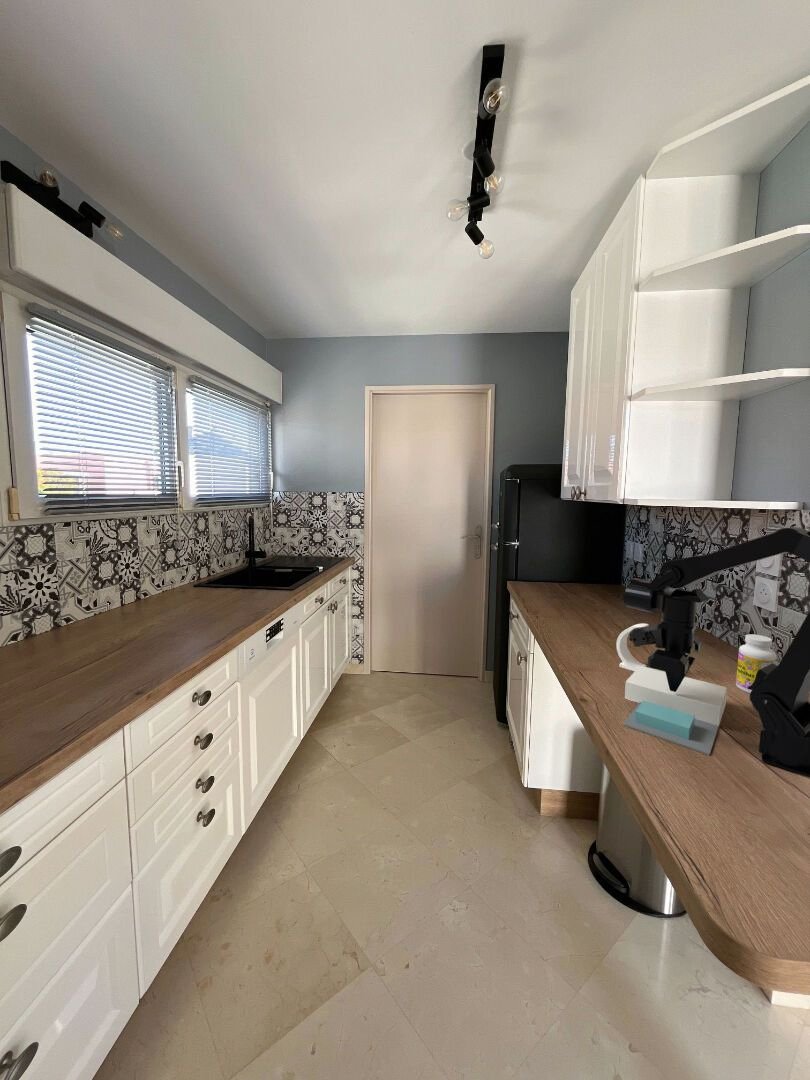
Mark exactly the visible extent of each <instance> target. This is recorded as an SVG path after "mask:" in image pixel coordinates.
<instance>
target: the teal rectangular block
mask: <svg viewBox="0 0 810 1080" xmlns="http://www.w3.org/2000/svg"><path fill="white" fill-rule="evenodd" d="M694 720H695V716H693V715H690V714H687V713H683V712H680V711H677V710H673V709H670V708H667V707H663V706H660V705H657V704H653V703H650V702H647V701H643V702H642V703H641V705H640V706H639V707H638V709H637V710H636V714H635V722H637V723H640V724H643V725H646V726H649V727H652V728H655V729H658V730H661V731H664V732H667V733H670V734H673V735H676V736H679V737H682V738H685V739H688V740H689V737H690V735H691V732H692V730H693V728H694Z"/></svg>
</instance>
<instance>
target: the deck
mask: <svg viewBox="0 0 810 1080" xmlns="http://www.w3.org/2000/svg"><path fill="white" fill-rule="evenodd" d="M727 693H728V687H726V686H723V685H719V684H715V683H712V682H706V681H703V680H699V679H695V678H690V677H688V676H685V677H684V679H683V681H682V682H681V684H680V686H679V687H678V689H677V691H676V692H673V691H670V689H669V685H668V681H667V676H666V672H665V671H662V670H658V669H654V668H650V667H649V666H646V667H644V666H639V667H638V668H637V670H636V671H633V673H631V675H630V676H629V677H628V678H627V679H626V681H625V687H624V699H626V700H628V701H631V702H635V703H637V704H638V703H639V702H643V701H647V702H650V703H653V704H657V705H660V706H663V707H667V708H670V709H673V710H677V711H680V712H683V713H687V714H690V715H693V716H695V719H697V720H701V721H704V722H707V723H710V724H714V725H717V726H719V727H720V725H721V721H722V717H723V714H724V712H725V709H726V705H727V695H728V694H727Z"/></svg>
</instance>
